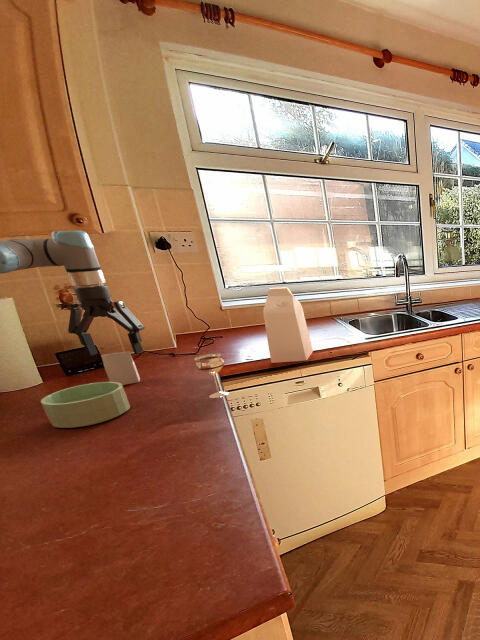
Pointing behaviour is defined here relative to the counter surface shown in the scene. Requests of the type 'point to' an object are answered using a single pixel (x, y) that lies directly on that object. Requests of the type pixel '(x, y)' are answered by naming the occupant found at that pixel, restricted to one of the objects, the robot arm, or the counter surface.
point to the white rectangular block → (120, 368)
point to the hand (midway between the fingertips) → (116, 353)
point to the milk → (286, 327)
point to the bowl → (85, 404)
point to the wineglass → (211, 369)
